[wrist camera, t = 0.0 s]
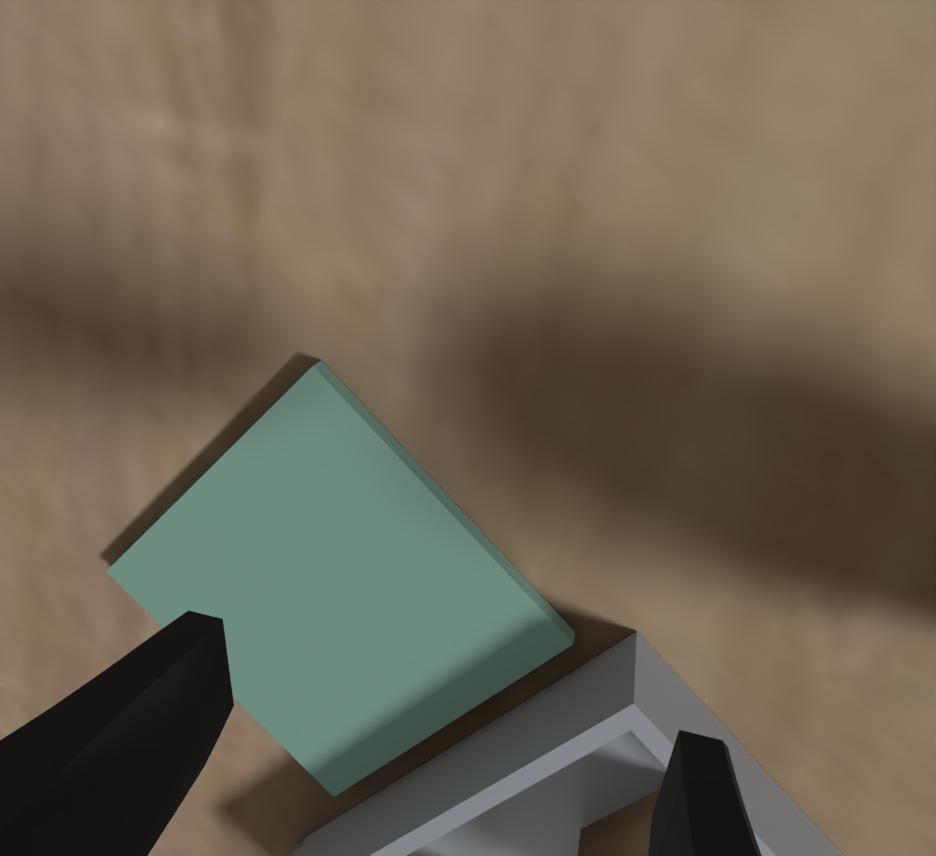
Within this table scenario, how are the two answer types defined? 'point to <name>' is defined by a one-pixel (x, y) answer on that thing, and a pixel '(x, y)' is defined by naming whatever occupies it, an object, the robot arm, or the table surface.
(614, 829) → the walnut block
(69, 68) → the table surface
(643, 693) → the tray
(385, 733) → the mat
